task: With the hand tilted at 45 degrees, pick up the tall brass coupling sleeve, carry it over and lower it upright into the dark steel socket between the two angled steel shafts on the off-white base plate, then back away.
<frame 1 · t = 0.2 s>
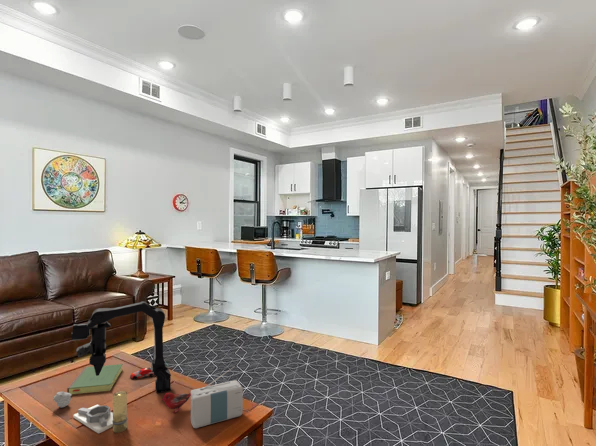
hand: (97, 371, 161), 14 cm above the table, tool pointing down, fingers open, 9 cm apart
grey rounded lump: (62, 407, 158), on the table
race car: (143, 376, 189), on the table
hardcover book: (96, 383, 182), on the table
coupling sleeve: (119, 428, 142), on the table
stereo radio cassette player: (216, 419, 149), on the table
decorative bird figurine: (180, 410, 156), on the table
coupling stand: (98, 419, 148), on the table
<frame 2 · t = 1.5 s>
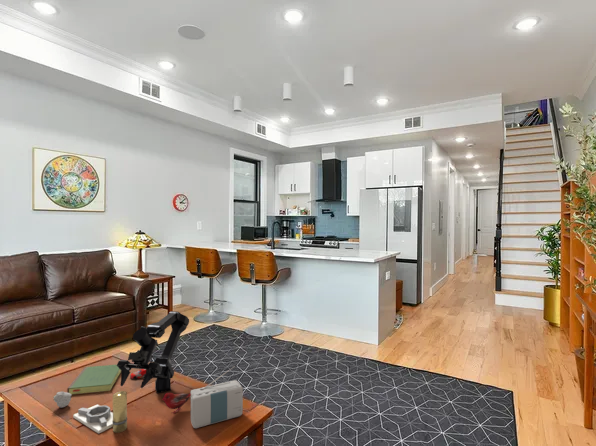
hand: (131, 386, 149), 13 cm above the table, tool tilted 45°, fingers open, 9 cm apart
nothing on the table moved.
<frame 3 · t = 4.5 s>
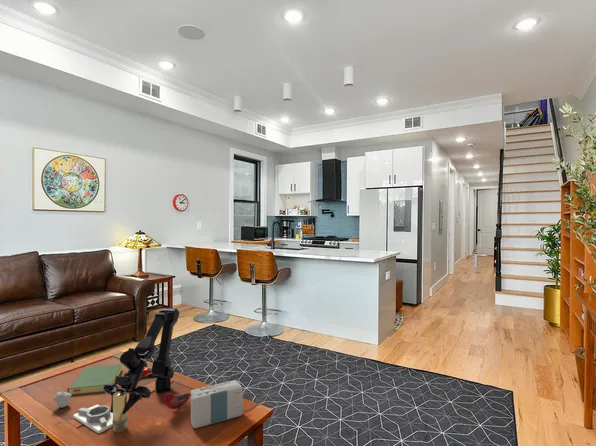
hand: (117, 413, 141), 7 cm above the table, tool tilted 45°, fingers closed on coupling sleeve, 5 cm apart
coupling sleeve: (119, 428, 142), on the table, touching gripper
when the fingers open (10 cm above the table, at t = 8.4 s): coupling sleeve drops 2 cm, resting on coupling stand.
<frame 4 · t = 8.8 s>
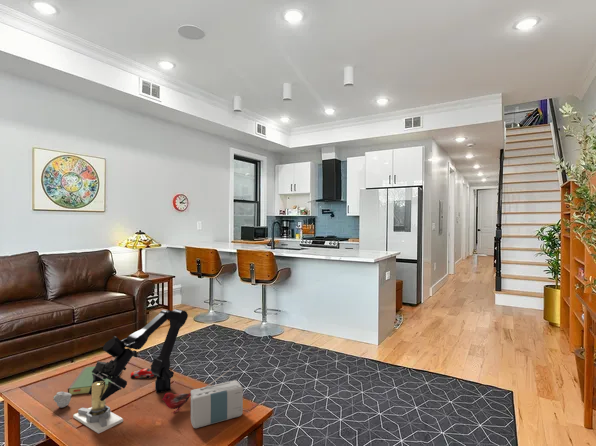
hand: (95, 397, 147), 10 cm above the table, tool tilted 45°, fingers open, 9 cm apart
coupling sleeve: (98, 416, 148), point 1 cm above the table, touching coupling stand
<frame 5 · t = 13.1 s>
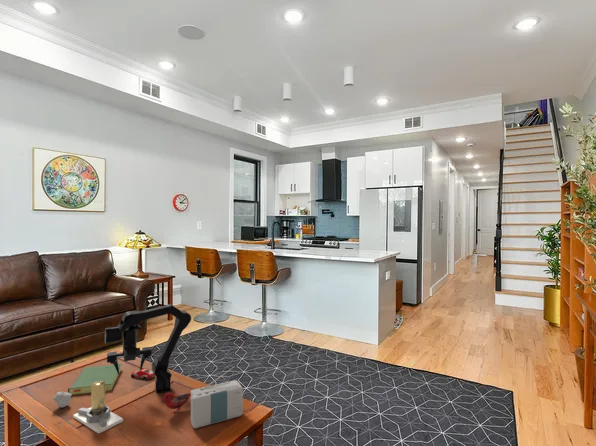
hand: (129, 372, 166), 12 cm above the table, tool pointing down, fingers open, 9 cm apart
at the end: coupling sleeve 0.1 cm off-centre on the coupling stand, point 1.2 cm above the coupling stand's base; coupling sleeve tilted 1°; the gripper is holding nothing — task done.
